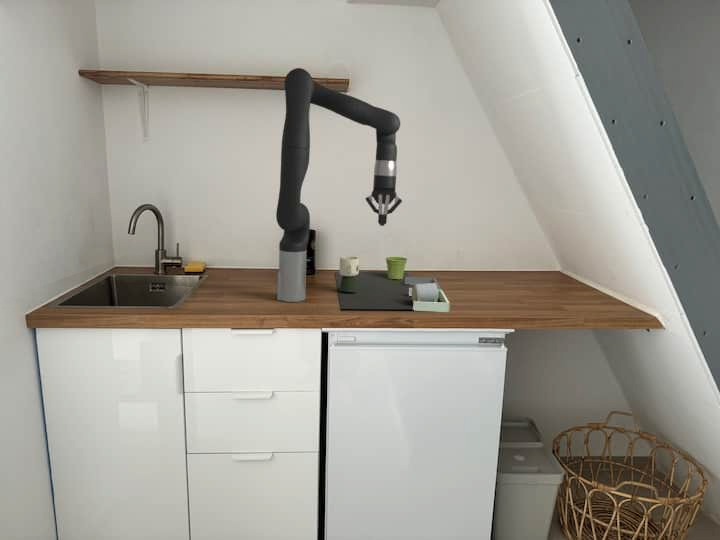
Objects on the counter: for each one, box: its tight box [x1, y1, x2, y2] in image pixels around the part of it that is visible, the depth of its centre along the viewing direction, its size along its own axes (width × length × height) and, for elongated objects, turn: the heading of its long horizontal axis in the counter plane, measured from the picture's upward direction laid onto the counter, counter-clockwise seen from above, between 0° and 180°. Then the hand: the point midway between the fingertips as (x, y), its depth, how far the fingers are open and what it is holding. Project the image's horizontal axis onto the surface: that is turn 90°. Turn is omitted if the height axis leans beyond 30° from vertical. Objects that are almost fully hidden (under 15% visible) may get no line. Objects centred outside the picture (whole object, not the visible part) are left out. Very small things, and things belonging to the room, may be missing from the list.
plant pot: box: [384, 256, 408, 280], centre depth 223 cm, size 9×9×9 cm
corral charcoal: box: [404, 276, 443, 295], centre depth 204 cm, size 12×20×3 cm, turn 179°
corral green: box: [408, 287, 451, 313], centre depth 184 cm, size 12×20×3 cm, turn 179°
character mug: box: [338, 255, 360, 294], centre depth 195 cm, size 11×7×13 cm, turn 10°
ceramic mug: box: [411, 283, 439, 302], centre depth 181 cm, size 11×8×8 cm
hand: (382, 225), depth 181 cm, fingers closed
